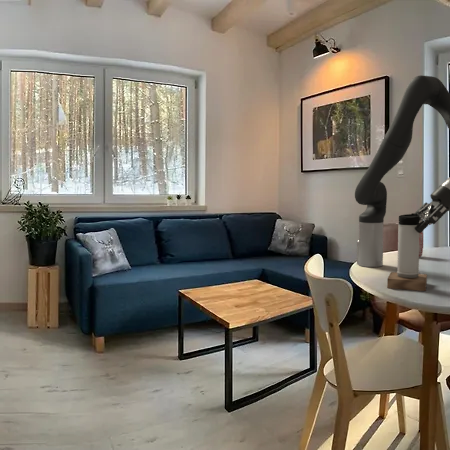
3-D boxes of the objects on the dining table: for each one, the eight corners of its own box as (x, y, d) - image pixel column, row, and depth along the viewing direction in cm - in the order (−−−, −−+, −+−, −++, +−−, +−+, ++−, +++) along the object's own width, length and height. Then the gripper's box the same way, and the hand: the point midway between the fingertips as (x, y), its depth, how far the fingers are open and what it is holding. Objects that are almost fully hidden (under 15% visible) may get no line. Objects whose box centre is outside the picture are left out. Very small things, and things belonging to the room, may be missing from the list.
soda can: (413, 258, 195) (414, 230, 193) (401, 256, 201) (402, 229, 200) (426, 257, 197) (426, 229, 196) (413, 255, 204) (414, 228, 203)
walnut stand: (387, 287, 143) (387, 278, 143) (390, 280, 153) (391, 272, 153) (425, 291, 139) (425, 281, 138) (426, 283, 149) (426, 274, 148)
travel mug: (423, 276, 145) (424, 213, 143) (410, 279, 141) (412, 215, 140) (405, 273, 150) (407, 212, 148) (393, 276, 147) (394, 213, 145)
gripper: (433, 184, 149) (396, 219, 151) (451, 184, 135) (411, 223, 137) (449, 200, 150) (412, 235, 151) (469, 202, 135) (428, 240, 137)
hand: (412, 229), depth 144 cm, fingers open, 8 cm apart
